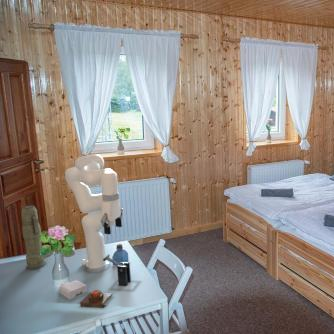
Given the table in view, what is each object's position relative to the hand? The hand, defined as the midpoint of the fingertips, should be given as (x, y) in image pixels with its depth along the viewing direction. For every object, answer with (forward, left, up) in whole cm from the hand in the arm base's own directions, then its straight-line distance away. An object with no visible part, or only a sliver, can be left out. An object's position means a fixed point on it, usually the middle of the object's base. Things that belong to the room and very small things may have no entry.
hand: (113, 230), depth 190 cm
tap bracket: (+4, 0, -30) cm, 30 cm away
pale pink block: (-20, -9, -30) cm, 37 cm away
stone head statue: (-56, +17, -30) cm, 66 cm away
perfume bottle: (-8, +22, -30) cm, 38 cm away
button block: (-3, -16, -30) cm, 34 cm away
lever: (-1, 0, -19) cm, 19 cm away
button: (-3, -16, -26) cm, 31 cm away
